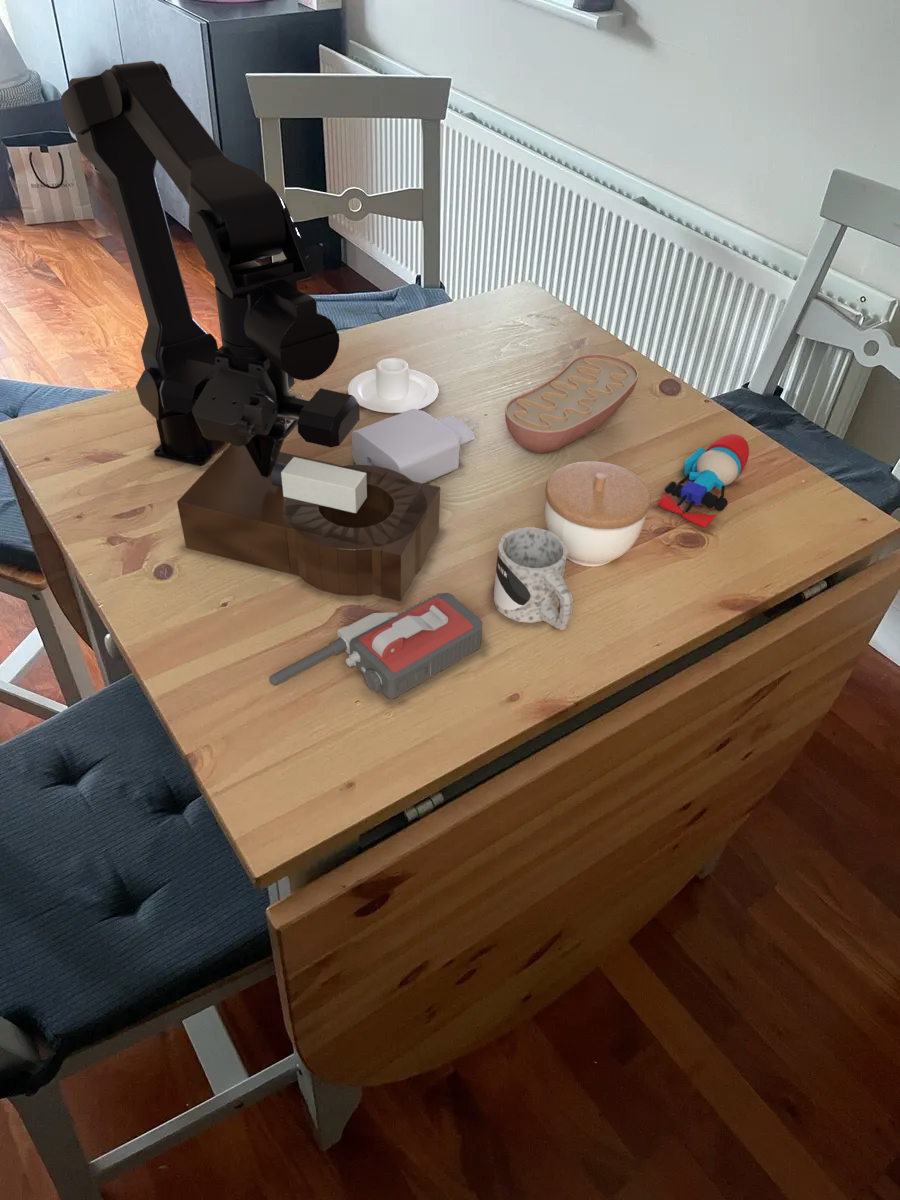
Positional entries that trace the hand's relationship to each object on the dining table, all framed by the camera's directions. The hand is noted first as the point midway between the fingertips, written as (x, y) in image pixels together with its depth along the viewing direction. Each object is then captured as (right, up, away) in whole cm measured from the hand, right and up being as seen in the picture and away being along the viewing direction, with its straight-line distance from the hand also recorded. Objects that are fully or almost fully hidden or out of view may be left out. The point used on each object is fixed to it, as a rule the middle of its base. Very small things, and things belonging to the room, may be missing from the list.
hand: (267, 474), depth 94 cm
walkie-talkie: (+13, -19, -9) cm, 25 cm away
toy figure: (+49, 0, +14) cm, 51 cm away
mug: (+27, -14, -3) cm, 31 cm away
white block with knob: (+5, -2, 0) cm, 6 cm away
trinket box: (+34, -7, +5) cm, 35 cm away
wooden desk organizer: (+4, -6, +4) cm, 9 cm away
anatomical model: (+34, +9, +23) cm, 43 cm away
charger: (+16, +4, +16) cm, 23 cm away
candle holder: (+11, +14, +27) cm, 33 cm away
